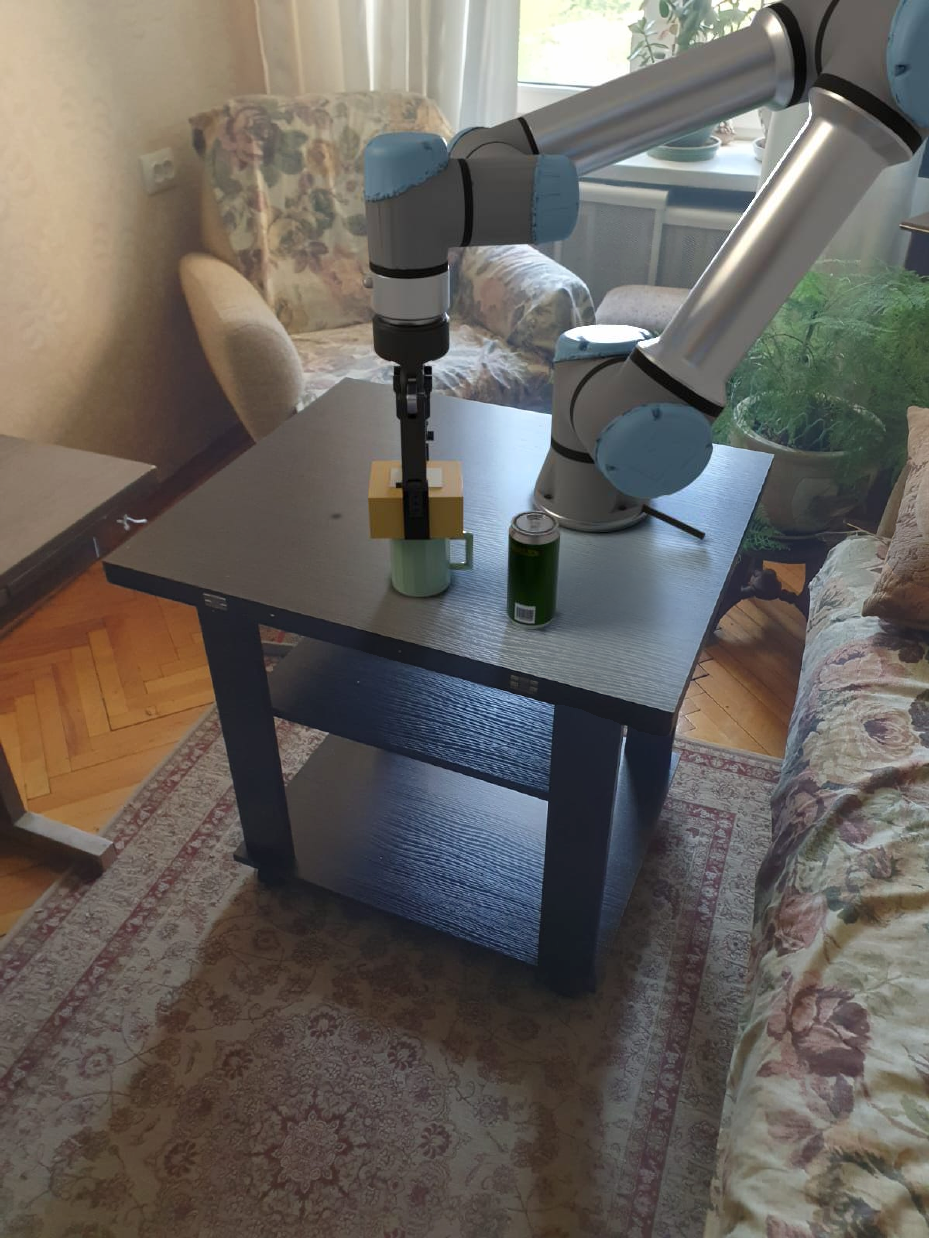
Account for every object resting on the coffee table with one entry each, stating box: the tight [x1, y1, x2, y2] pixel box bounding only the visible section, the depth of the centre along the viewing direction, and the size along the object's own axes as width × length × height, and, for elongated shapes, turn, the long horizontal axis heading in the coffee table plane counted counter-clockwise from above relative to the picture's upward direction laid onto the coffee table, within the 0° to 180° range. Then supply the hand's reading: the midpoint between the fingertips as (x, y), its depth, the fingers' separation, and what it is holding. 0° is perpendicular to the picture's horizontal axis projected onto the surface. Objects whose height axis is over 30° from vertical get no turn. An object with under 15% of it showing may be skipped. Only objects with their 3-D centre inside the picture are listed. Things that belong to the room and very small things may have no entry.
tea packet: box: [367, 459, 464, 540], centre depth 103 cm, size 10×8×5 cm
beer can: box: [506, 510, 561, 630], centre depth 100 cm, size 5×5×12 cm
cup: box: [388, 531, 474, 598], centre depth 107 cm, size 10×7×8 cm
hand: (417, 516), depth 104 cm, fingers closed on tea packet, 8 cm apart
